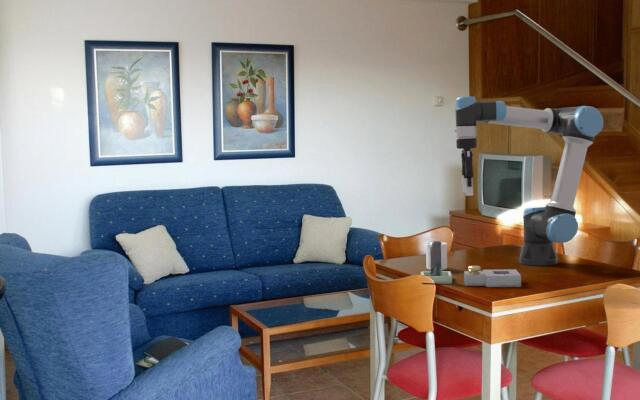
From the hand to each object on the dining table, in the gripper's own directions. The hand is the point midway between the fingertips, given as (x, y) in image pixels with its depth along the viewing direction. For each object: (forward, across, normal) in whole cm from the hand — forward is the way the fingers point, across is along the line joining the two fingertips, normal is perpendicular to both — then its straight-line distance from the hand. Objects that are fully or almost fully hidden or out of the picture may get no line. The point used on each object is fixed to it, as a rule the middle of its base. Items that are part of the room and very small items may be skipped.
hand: (467, 194), depth 289 cm
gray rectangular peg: (+30, +11, -13) cm, 35 cm away
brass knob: (+30, +17, 0) cm, 34 cm away
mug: (+31, -12, -12) cm, 36 cm away
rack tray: (+31, +11, -13) cm, 35 cm away
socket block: (+31, +17, +6) cm, 36 cm away
